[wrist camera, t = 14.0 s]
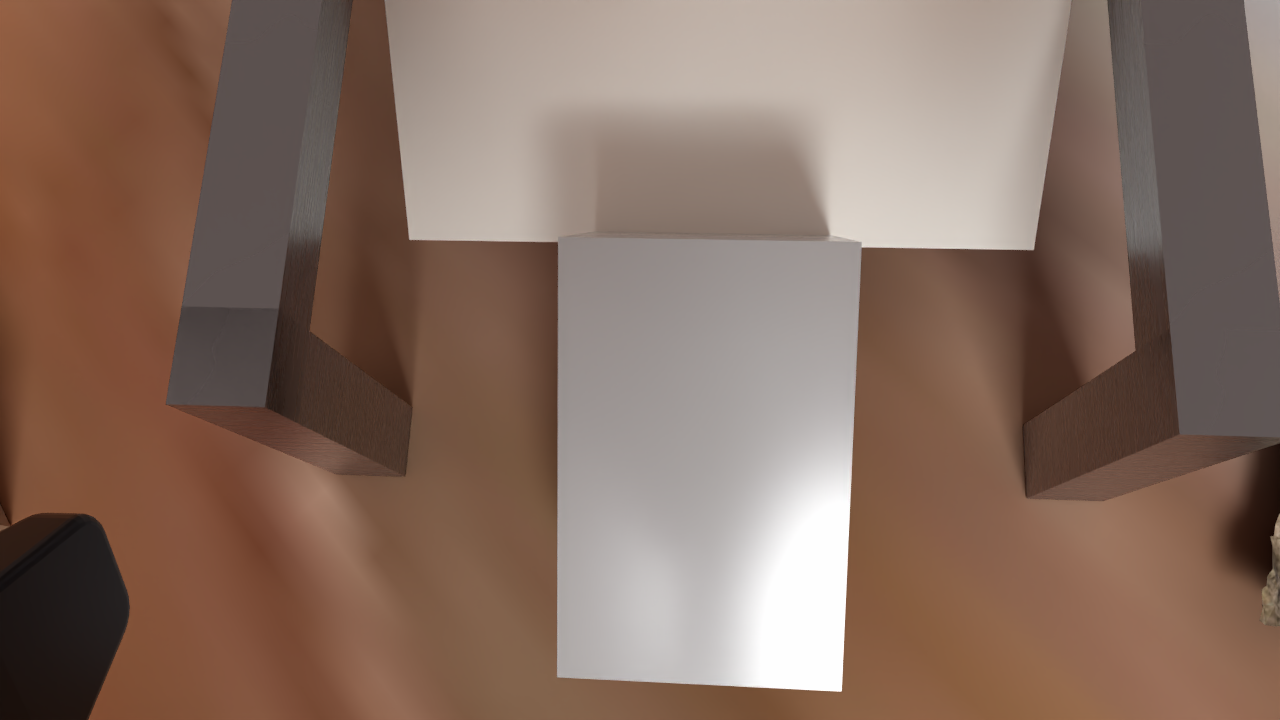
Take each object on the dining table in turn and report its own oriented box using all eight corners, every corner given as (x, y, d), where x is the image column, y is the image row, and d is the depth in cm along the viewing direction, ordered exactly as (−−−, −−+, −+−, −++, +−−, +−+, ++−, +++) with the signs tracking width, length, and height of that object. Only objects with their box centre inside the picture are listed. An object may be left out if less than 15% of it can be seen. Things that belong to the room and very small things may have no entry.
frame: (417, -208, 26) (314, -500, 19) (1053, -220, 25) (1180, -535, 18) (335, 473, 22) (165, 404, 15) (1103, 501, 20) (1295, 437, 14)
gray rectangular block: (830, 234, 19) (815, 587, 20) (595, 231, 20) (592, 577, 21) (862, 242, 15) (841, 691, 16) (558, 236, 15) (556, 677, 16)
